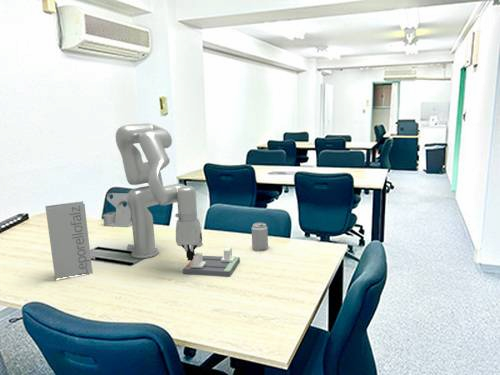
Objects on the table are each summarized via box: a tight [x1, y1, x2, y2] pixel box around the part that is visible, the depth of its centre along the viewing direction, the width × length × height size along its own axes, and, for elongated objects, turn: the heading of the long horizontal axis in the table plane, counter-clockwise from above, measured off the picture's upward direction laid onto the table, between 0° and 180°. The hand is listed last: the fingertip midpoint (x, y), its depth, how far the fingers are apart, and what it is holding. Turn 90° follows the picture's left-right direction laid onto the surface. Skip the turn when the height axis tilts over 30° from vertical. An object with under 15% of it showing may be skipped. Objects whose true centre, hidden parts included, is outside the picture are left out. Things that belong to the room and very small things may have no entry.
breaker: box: [221, 246, 236, 262], centre depth 178 cm, size 5×5×5 cm
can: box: [251, 222, 269, 252], centre depth 196 cm, size 8×8×12 cm
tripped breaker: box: [191, 252, 206, 268], centre depth 173 cm, size 5×5×5 cm
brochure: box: [45, 200, 94, 279], centre depth 171 cm, size 14×6×30 cm, turn 117°
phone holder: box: [102, 192, 132, 228], centre depth 246 cm, size 17×10×18 cm, turn 76°
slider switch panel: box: [182, 255, 241, 277], centre depth 177 cm, size 20×16×2 cm
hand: (190, 259), depth 174 cm, fingers closed
